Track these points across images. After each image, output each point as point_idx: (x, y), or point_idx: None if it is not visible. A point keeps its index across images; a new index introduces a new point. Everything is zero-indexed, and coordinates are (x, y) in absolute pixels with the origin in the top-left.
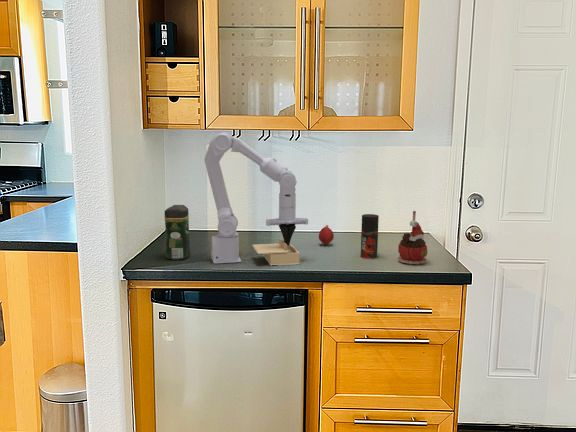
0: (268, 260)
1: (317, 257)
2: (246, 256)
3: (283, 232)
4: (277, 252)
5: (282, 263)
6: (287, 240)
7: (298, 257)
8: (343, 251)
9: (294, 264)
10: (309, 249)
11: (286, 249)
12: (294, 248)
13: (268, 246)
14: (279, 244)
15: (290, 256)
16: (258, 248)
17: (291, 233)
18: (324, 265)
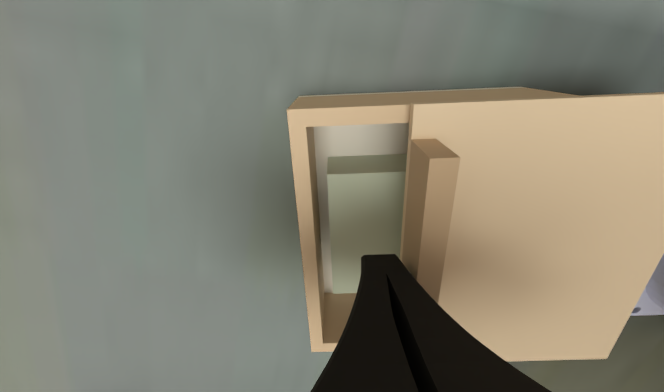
0: None
1: (163, 240)
2: None
3: (510, 366)
4: (529, 100)
5: (432, 92)
6: (395, 283)
7: (302, 103)
8: (16, 326)
9: (337, 94)
10: (204, 374)
11: (424, 141)
12: (308, 262)
13: (517, 301)
14: None
15: (377, 102)
16: (632, 256)
17: (358, 351)
18: (104, 27)
